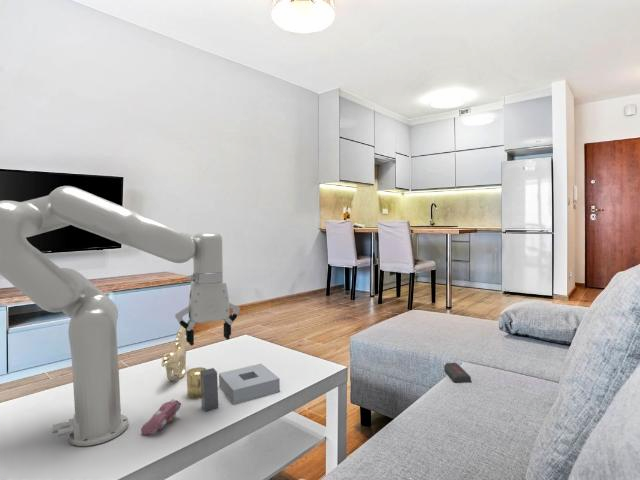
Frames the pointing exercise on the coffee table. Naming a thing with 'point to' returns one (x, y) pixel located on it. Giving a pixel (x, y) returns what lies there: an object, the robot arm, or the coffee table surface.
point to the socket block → (248, 383)
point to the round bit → (194, 383)
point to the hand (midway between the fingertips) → (209, 341)
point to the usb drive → (456, 373)
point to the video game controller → (161, 417)
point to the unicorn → (176, 356)
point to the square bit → (209, 389)
